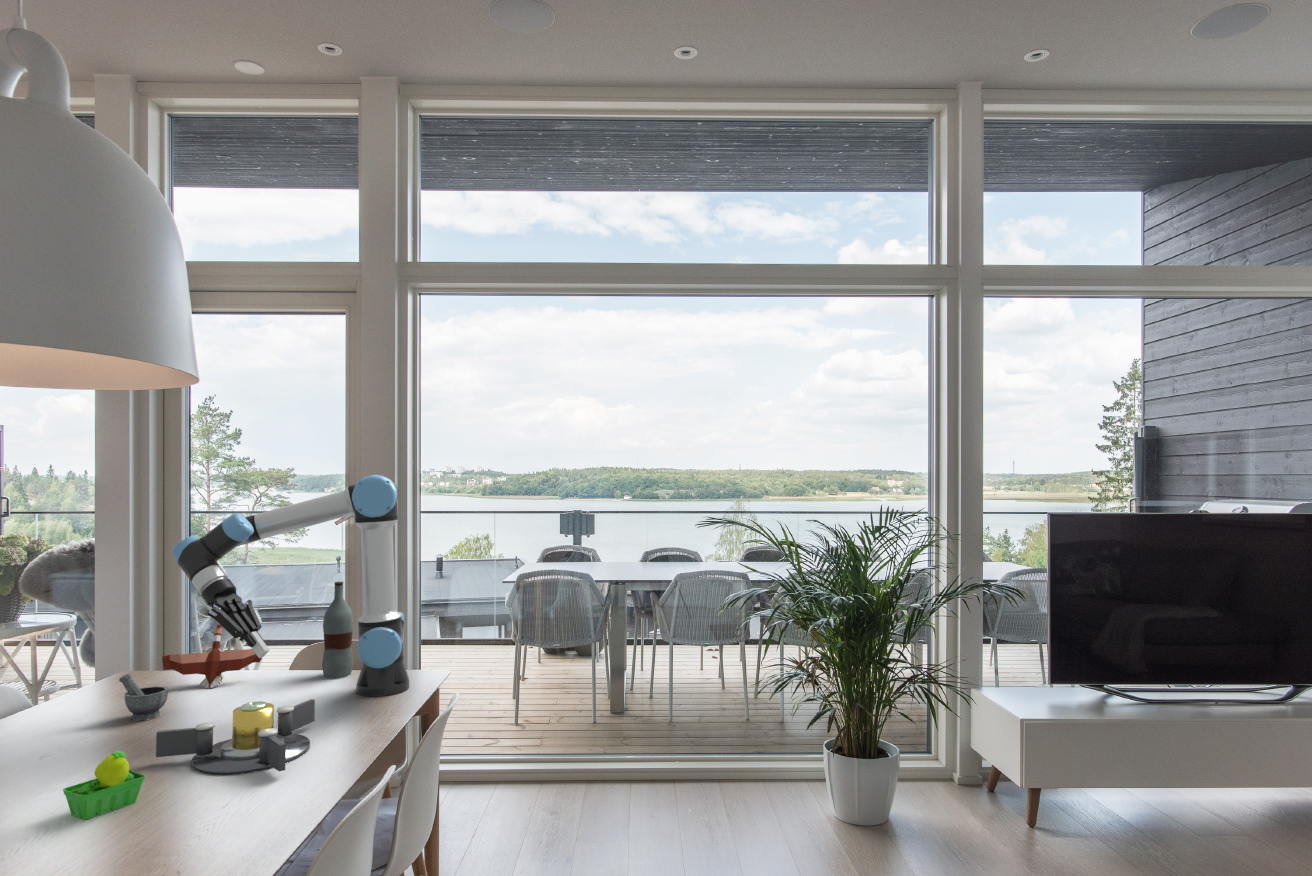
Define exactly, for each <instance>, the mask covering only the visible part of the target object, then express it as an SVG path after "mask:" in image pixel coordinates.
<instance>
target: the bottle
mask: <svg viewBox="0 0 1312 876" xmlns="http://www.w3.org/2000/svg"><path fill="white" fill-rule="evenodd" d="M354 622H355V620H354V615H353V611H352V609H351V607H350V606H349V605H348V603H347V602H346V600H345V599H344V581H335V582H334V598H333V600H332V601H331V603H330V604H329V607H328V608H327V610H326V611H325V613H324V616H323V622H322V631H323V641H324V642H323V643H324V645H323V646H324V647H323V648H324V651H323V656H322V662H321V663H322V664H321V666H322V673H323V677H324V678H325V679H341V678H340V677H342V678H346V677H349V676H351V675H352V672H353V666H354V656H353V649H352V642H353V639H352V638H353V631H354ZM348 675H349V676H348Z"/></svg>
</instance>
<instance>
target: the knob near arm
mask: <svg viewBox="0 0 1312 876" xmlns="http://www.w3.org/2000/svg"><path fill="white" fill-rule="evenodd" d="M315 708H316V699H315V698H314V699H313V698H311V699H307V700H306V701H303V702H300V703H298V704H295V705H283V706H279V707H277V708H276V713H277V732H278V735H281V736H288V735H291V734H292V733H293V732H294V731H296V730H298V729H301V728H303V727H305V726H306V725H310V724H311V723H313V722H315V719H316V718H315V717H316V716H315V713H316V711H315V710H316V709H315Z"/></svg>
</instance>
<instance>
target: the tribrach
mask: <svg viewBox="0 0 1312 876" xmlns="http://www.w3.org/2000/svg"><path fill="white" fill-rule="evenodd" d="M274 715H275V705H274V704H273V703H270V702H266V701H259V700H258V701H252V702H251V701H249V702H246V703H243V704H242V705H241V706H237V707H235V708H234V709H233V710H232V736H231V737H232V738H229V739H226V740H223V741H219V742H217V743H213V752H212V753H211V754H208V755H202V756H198V755H196V754H194V756H193V757H192V759H191V767H192V769H193V770H194V771H196V772H198V773H201V774H205V775H214V776H220V775H221V776H230V775H233V776H234V775H243V774H249V772H250V773H256V772H261V771H265V769H266V770H268V769H269V768H270V769H273V768H274V767H273V766H271V765H270V764H269V763H268V762H267V763H261V762H259V741H260V736H258V732H259V731H261V730H264V729H269V728H274V727H275V726H274V718H275V717H274ZM276 737H277V738H278V739H279V740H281V741H282V742H284V743H285V744H286V755H285V763H286V764H288V763H291V762H292V761H295V760H297V759H299V758H301V757H302V756H304V755H305V754H307V752H309V750H310V746H311V743H310V742H311V741H310V738H309V737H307V736H305V735H304V734H299V733H295V732H292V734H291V735H288V736H281V735H278V731H277V734H276ZM303 754H304V755H303ZM300 756H301V757H300ZM290 761H291V762H290ZM287 762H288V763H287ZM270 769H269V770H270ZM255 771H256V772H255ZM242 773H243V774H242Z"/></svg>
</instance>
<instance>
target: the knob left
mask: <svg viewBox="0 0 1312 876" xmlns="http://www.w3.org/2000/svg"><path fill="white" fill-rule="evenodd" d="M277 732H278V728H269V729H264V730H261V731H259V732H258V736H260V741H259V762H261V763H267V762H268V763H269V764H270V765H271V766H273V768H274V769H275V770H277V771H278V772H283V771H286V764H285V755H286V744H285V743H284V742H282V741H281V740H279V739H278V738H277V737H276V734H277Z"/></svg>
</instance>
